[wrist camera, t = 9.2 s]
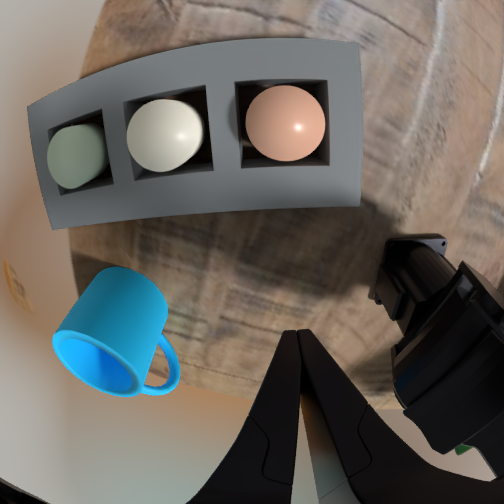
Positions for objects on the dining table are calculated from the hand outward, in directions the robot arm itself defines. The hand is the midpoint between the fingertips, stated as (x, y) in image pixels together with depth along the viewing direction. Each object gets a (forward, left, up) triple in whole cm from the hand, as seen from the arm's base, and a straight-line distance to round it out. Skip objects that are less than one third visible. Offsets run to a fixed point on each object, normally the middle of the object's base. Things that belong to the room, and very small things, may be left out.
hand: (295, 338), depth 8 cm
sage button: (+12, -6, -10) cm, 17 cm away
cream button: (+6, -6, -10) cm, 13 cm away
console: (+6, -6, -12) cm, 15 cm away
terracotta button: (-1, -6, -10) cm, 12 cm away
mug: (+13, +10, -12) cm, 21 cm away
